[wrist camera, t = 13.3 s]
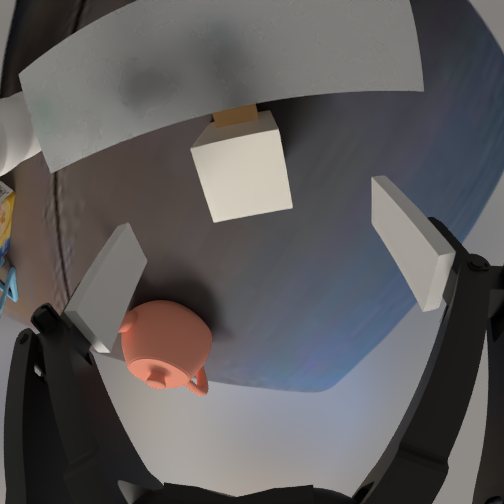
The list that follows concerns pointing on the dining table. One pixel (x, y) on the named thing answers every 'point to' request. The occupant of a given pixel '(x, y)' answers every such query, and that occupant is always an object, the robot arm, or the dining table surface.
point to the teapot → (166, 345)
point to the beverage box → (5, 216)
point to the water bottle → (16, 133)
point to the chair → (9, 281)
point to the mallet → (242, 164)
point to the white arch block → (210, 64)
